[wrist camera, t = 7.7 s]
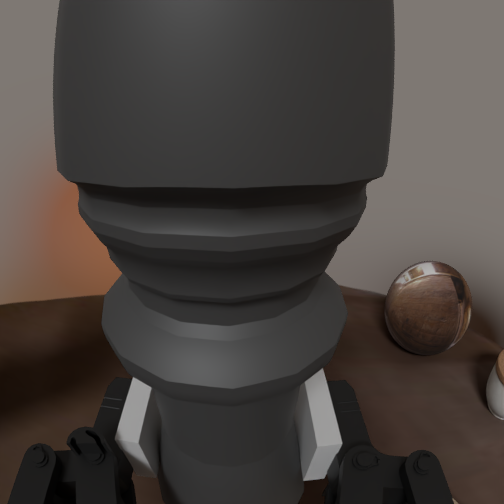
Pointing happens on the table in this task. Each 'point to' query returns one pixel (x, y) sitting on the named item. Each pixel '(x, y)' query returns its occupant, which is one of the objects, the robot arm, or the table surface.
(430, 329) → the clear glass sphere
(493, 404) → the lidded jar
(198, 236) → the candle holder
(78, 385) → the table surface
